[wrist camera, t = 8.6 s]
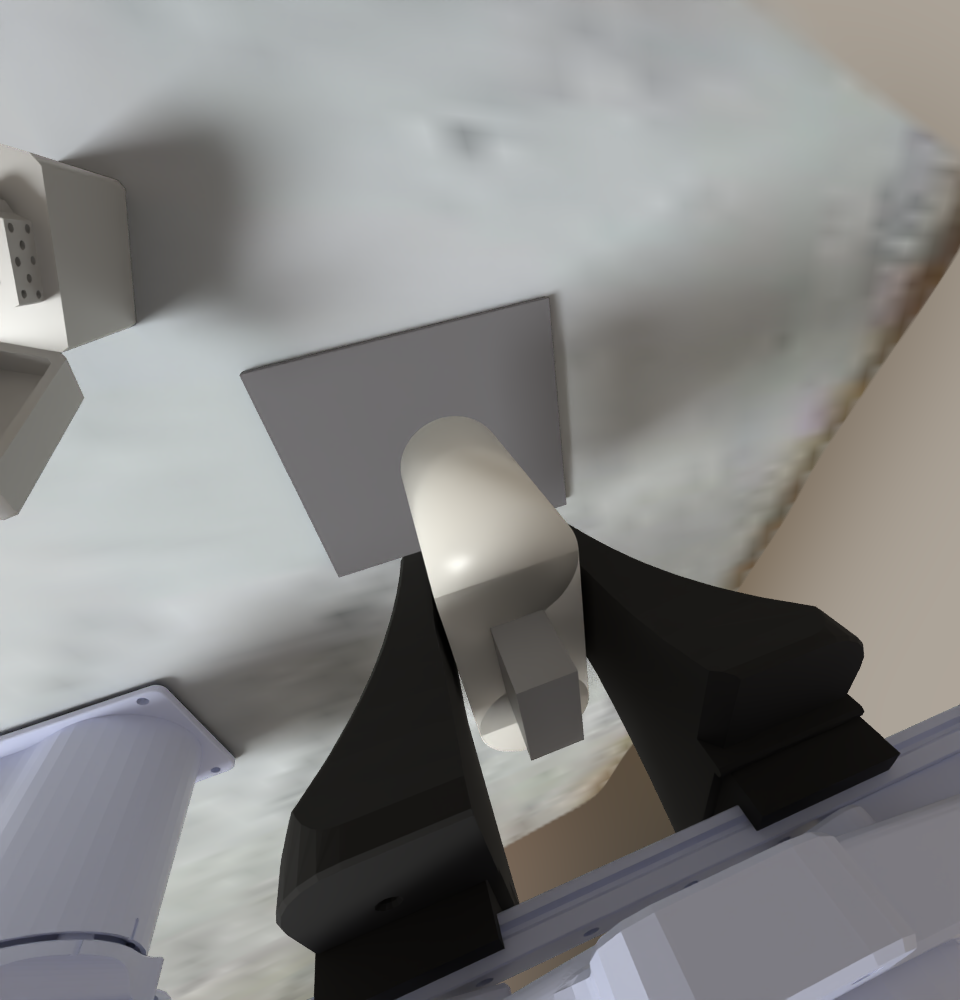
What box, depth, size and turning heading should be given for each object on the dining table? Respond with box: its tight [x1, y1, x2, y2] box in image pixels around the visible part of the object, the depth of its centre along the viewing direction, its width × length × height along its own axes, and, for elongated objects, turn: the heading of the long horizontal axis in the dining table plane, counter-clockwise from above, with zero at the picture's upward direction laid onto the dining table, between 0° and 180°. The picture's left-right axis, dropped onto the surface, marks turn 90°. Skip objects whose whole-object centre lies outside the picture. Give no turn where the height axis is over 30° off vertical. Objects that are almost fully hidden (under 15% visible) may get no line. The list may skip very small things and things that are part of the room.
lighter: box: [0, 144, 136, 520], centre depth 10 cm, size 7×2×8 cm, turn 164°
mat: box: [240, 297, 566, 577], centre depth 19 cm, size 12×10×1 cm
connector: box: [401, 416, 589, 761], centre depth 11 cm, size 3×8×7 cm, turn 10°
